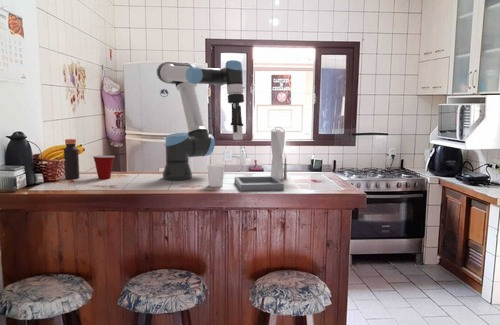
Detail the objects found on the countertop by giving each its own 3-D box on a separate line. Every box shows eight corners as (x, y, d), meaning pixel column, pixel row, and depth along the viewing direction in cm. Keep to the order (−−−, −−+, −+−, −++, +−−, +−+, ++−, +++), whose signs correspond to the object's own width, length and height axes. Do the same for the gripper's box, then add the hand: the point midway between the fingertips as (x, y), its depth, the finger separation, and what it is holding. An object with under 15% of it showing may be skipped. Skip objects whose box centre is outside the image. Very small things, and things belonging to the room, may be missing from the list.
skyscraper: (282, 181, 211) (284, 127, 207) (267, 180, 214) (268, 126, 210) (287, 178, 219) (288, 126, 215) (272, 177, 222) (273, 125, 218)
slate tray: (234, 182, 205) (234, 176, 204) (273, 182, 208) (273, 176, 208) (240, 191, 185) (240, 184, 185) (283, 190, 189) (283, 183, 188)
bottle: (75, 179, 207) (74, 140, 204) (62, 179, 207) (60, 139, 204) (81, 177, 213) (80, 138, 210) (68, 177, 213) (66, 138, 211)
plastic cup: (119, 176, 216) (118, 154, 215) (109, 180, 206) (108, 156, 204) (100, 176, 218) (99, 153, 216) (89, 179, 208) (88, 156, 206)
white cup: (221, 187, 192) (221, 166, 191) (205, 186, 194) (205, 165, 193) (225, 184, 200) (225, 164, 199) (210, 183, 202) (210, 163, 200)
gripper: (240, 90, 179) (243, 139, 180) (246, 96, 204) (248, 139, 205) (223, 91, 180) (226, 140, 181) (231, 97, 205) (233, 140, 206)
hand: (238, 139), depth 193 cm, fingers open, 13 cm apart
